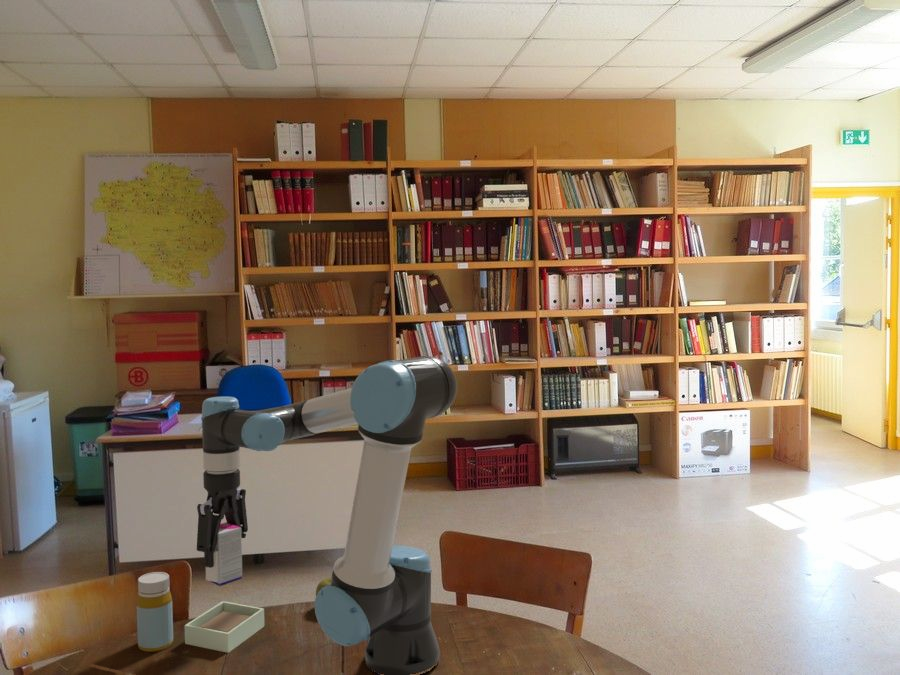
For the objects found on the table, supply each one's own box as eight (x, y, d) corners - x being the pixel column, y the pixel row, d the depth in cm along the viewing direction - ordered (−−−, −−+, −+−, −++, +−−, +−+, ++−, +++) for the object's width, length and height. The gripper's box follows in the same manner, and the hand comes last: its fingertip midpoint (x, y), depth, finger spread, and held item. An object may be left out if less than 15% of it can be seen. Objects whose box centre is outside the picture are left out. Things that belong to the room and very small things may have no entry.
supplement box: (243, 578, 170) (242, 527, 169) (219, 587, 166) (217, 534, 164) (229, 571, 174) (227, 520, 173) (204, 579, 170) (202, 528, 168)
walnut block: (250, 629, 173) (249, 616, 173) (227, 645, 166) (227, 631, 166) (223, 624, 176) (223, 611, 175) (200, 639, 168) (200, 626, 168)
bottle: (161, 655, 162) (159, 585, 161) (131, 652, 164) (128, 582, 163) (179, 640, 169) (177, 572, 168) (150, 637, 171) (148, 570, 169)
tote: (264, 628, 175) (264, 608, 174) (228, 654, 163) (227, 633, 162) (223, 620, 179) (222, 601, 178) (185, 645, 167) (184, 625, 166)
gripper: (235, 457, 178) (237, 555, 180) (175, 479, 159) (178, 588, 162) (263, 460, 176) (265, 560, 178) (205, 483, 157) (208, 594, 159)
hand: (223, 573), depth 170 cm, fingers closed on supplement box, 7 cm apart
